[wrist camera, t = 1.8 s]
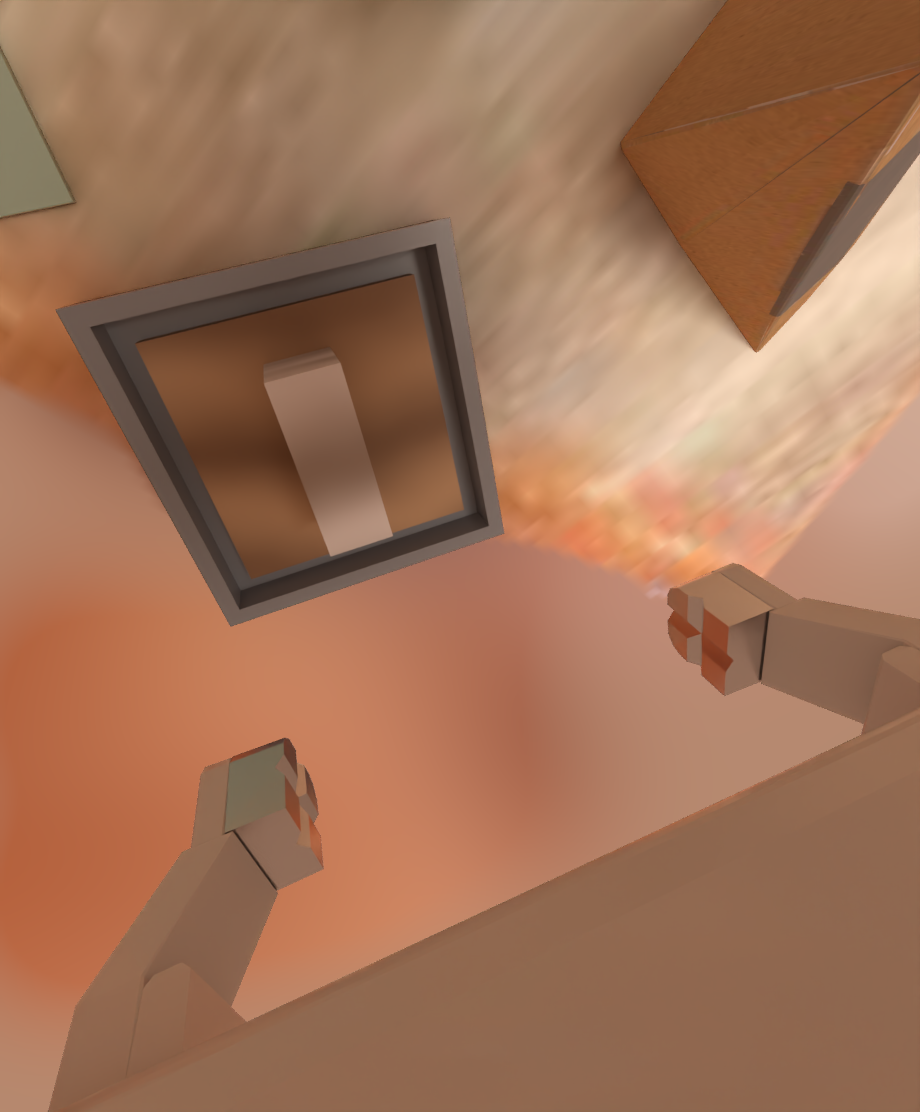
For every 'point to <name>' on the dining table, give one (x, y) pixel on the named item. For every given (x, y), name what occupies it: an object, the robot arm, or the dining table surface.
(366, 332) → the cover plate
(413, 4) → the dining table surface
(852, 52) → the sandwich container
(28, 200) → the mat
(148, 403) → the tray
